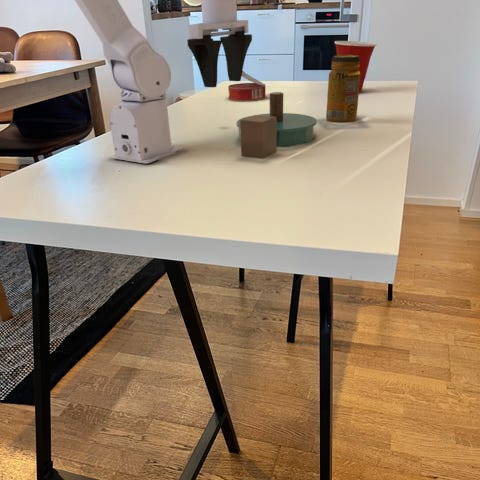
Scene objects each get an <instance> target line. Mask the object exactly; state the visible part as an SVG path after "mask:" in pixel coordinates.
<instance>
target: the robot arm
mask: <svg viewBox="0 0 480 480" xmlns="http://www.w3.org/2000/svg"><path fill="white" fill-rule="evenodd" d="M74 2H75V3H76V5H77V6H78V8H79V9H80V11H81V12H82V14H83V15H84V17H85V19H86V20H87V22H88V23H89V26H91V28H92V29H93V31H94V33H95V34H96V35H97V37H98V39H99V40H100V42H101V43H102V50H103V56H104V57H105V59H106V61H107V63H108V64H109V67H110V72H111V76H112V79H113V81H114V83H115V84H116V86H117V87H118V88H119V89H120V99H121V100H120V102H119V103H118V104H115V105H114V106H113V107H112V108H111V110H110V112H109V126H110V131H111V137H112V143H113V149H114V154H113V155H112V159H115V160H120V161H121V160H122V161H127V162H133V163H140V164H145V165H146V164H150V163H153V162H155V161H158V160H159V159H161V158H164V157H167V156H169V155H172V154H174V153H177V152H179V150H182V149H183V147H181V146H174V145H172V137H171V129H170V128H171V127H170V119H169V112H168V102H167V93H166V92H167V91H168V89H169V87H170V86H171V85H170V84H171V79H172V72H171V71H172V70H171V67H170V65H169V62H168V60H167V59H166V58H165V57H164V56H163V55H161V54H160V53H159V52H157V51H156V50H155V49H154V48H153V47H152V45H151V43H150V41H149V40H148V39H147V38H146V37H145V36H144V35H143V34H142V33H141V32H140V31H139V30H138V29H137V28H136V27H135V26H134V25H133V24H132V22H131V20H130V18H129V17H128V15H127V14H126V12H125V10H124V8H123V7H122V5H121V3H120V1H119V0H74ZM237 2H238V1H237V0H200V3H201V19H202V22H199V23H193V24H188V25H187V26H188V37H189V39H187V40H186V41H187V47H188V48H189V50H190V52H191V53H192V56H193V57H194V60H195V62H196V64H197V67H198V69H199V72H200V76H201V79H202V83H203V86H204V88H217V85H218V62H219V54H220V49H221V46H222V48H223V51H224V55H225V61H226V70H227V71H226V72H227V76H228V81H229V82H241V81H242V71H244V64H245V59H246V56H247V53H248V50H249V47H250V45H251V43H252V42H253V34H250V33H249V20H248V19H238V6H237V5H238V3H237ZM219 30H222V31H219ZM214 37H219V40H214Z"/></svg>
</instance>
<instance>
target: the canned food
mask: <svg viewBox="0 0 480 480" xmlns="http://www.w3.org/2000/svg"><path fill="white" fill-rule="evenodd" d="M241 78H244V79H246V80H247V81H249V82H243V83H242V82H241V83H233V84H229V85H228V86H227V88H228V89H227V90H228V100H229V101H232V102H256V101H261V100H264V99H266V97H267V96H266V95H267V94H266V84H265V83H263V82H262V81H259V80H258V79H256V78H254V77H253V76H251V75H250V74H248V73H246V72H245V71H244V70H242V76H241Z"/></svg>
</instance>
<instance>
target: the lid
mask: <svg viewBox="0 0 480 480" xmlns="http://www.w3.org/2000/svg"><path fill="white" fill-rule="evenodd" d="M258 115H263V116H275V117H277V133H283V132H294V131H300V130H305V129H309V128H311V127H315V126H316V125H317V118H315V117H314V116H311V115H308V114H307V115H306V114H301V113H290V112H287V113H286V112H284V92H282V91H272V92H270V93H269V113H260V114H258ZM251 116H252V115H247V116H245V117H242V118H239V119H238V120H236V127H237V128H238V129H239V128H240V120H242V119H245V118H248V117H251Z"/></svg>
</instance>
